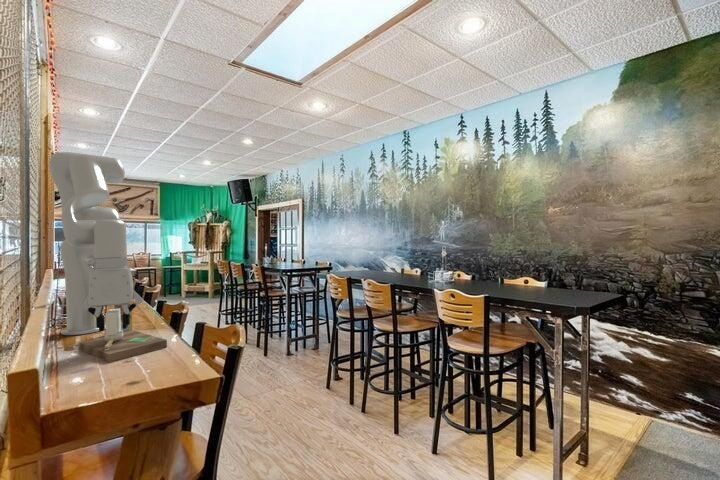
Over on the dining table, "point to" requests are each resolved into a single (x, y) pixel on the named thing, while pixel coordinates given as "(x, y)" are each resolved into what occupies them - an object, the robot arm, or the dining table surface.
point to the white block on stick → (113, 327)
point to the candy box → (129, 327)
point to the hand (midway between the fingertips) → (113, 328)
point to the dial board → (123, 346)
